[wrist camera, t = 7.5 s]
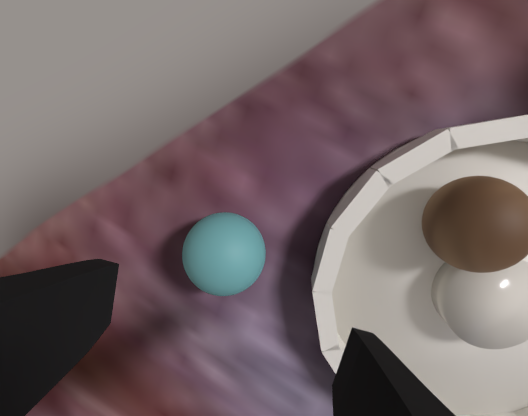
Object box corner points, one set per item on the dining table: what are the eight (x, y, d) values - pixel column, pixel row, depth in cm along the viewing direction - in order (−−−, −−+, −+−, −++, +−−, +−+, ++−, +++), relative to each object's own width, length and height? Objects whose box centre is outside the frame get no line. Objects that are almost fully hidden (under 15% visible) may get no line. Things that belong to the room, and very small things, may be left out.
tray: (563, 449, 19) (600, 491, 17) (282, 373, 20) (280, 403, 18) (718, 166, 15) (795, 170, 13) (361, 88, 16) (372, 78, 14)
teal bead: (260, 282, 19) (249, 322, 15) (191, 265, 19) (162, 299, 15) (276, 215, 18) (270, 237, 14) (204, 197, 18) (176, 213, 14)
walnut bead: (448, 255, 17) (537, 294, 13) (389, 244, 16) (472, 286, 12) (477, 179, 17) (581, 198, 13) (419, 160, 15) (519, 173, 11)
